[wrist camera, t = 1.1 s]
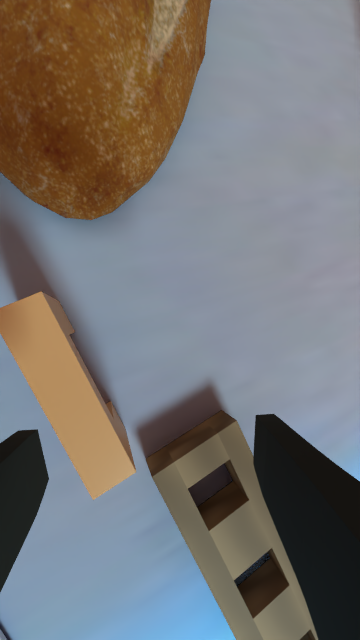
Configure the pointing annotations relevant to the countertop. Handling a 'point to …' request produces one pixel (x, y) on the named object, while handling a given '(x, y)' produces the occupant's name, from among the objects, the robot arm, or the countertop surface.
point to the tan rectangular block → (67, 391)
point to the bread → (93, 95)
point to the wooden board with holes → (232, 532)
